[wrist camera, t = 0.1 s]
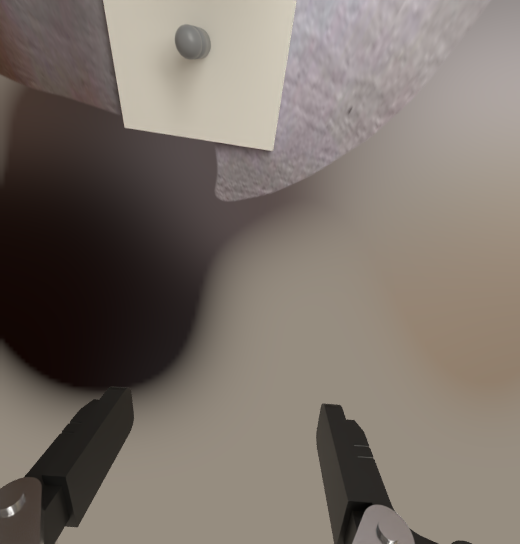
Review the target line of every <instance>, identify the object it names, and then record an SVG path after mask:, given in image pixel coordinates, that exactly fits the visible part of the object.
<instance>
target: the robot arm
mask: <svg viewBox="0 0 520 544" xmlns="http://www.w3.org/2000/svg"><path fill="white" fill-rule="evenodd" d="M133 421H134V412H133V403H132V394H131V389H130V388H121V387H110V388H108V389H107V391H106V392H105V393H104V394H103V396H102V397H101V398H100V400H96V399H94V400H92V401H91V402H89V403H88V404H87V405H85V406H84V407H83V408H81V409H80V410H79V412H78V413H77V414H76V415H75V416H74V417H73V419H72V420H71V421H70V424H68V425H67V426H66V427H65V428H64V430H63V431H62V433H61V434H59V436H58V437H57V438H56V439H55V440H54V442H53V443H52V444H51V445H50V447H49V448H48V449H47V450H46V452H45V453H44V454H43V455H42V456H41V457H40V459H39V460H38V461H37V462H36V464H35V465H34V466H33V467H32V468H31V470H30V471H29V472H28V473H27V474H26V475H25V477H24V478H20V479H17V480H15V481H12V482H10V483H8V484H7V485H5V486H3V487H2V488H1V489H0V544H58V543H57V539H58V537H59V535H60V534H61V532H62V530H63V529H64V527H65V526H67V527H78V526H79V524H80V522H81V520H82V518H83V517H84V515H85V513H86V511H87V509H88V507H89V505H90V504H91V502H92V500H93V498H94V496H95V495H96V493H97V491H98V489H99V488H100V486H101V484H102V482H103V480H104V478H105V477H106V475H107V473H108V471H109V469H110V468H111V465H112V464H113V462H114V460H115V458H116V457H117V455H118V453H119V451H120V449H121V448H122V446H123V444H124V442H125V440H126V438H127V437H128V435H129V433H130V431H131V428H132V425H133ZM316 439H317V450H318V456H319V461H320V467H321V472H322V478H323V483H324V489H325V494H326V500H327V506H328V511H329V517H330V522H331V528H332V533H333V539H334V544H438V543H436V542H433V541H431V540H429V539H427V538H424V537H422V536H420V535H418V534H417V533H415V532H414V531H412V530H411V529H410V528H409V527H408V525H407V524H406V522H405V521H404V520H403V519H402V518H401V517H400V516H399V515H398V514H397V513H396V512H395V511H394V509H393V507H392V505H391V502H390V500H389V497H388V495H387V492H386V489H385V486H384V484H383V481H382V479H381V476H380V473H379V471H378V468H377V466H376V463H375V460H374V459H373V455H372V452H371V449H370V448H369V444H368V442H367V439H366V436H365V434H364V431H363V430H362V429H361V428H360V427H359V425H358V424H357V423H356V422H355V421H354V420H346V418H345V415H344V412H343V409H342V407H341V406H340V405H334V404H322V405H321V410H320V415H319V421H318V427H317V435H316ZM452 544H472V543H469V542H466V541H455V542H453V543H452Z"/></svg>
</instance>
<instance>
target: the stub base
mask: <svg viewBox="0 0 520 544" xmlns="http://www.w3.org/2000/svg"><path fill="white" fill-rule="evenodd" d="M103 3H104V9H105V14H106V20H107V26H108V32H109V38H110V44H111V50H112V56H113V62H114V68H115V74H116V80H117V85H118V91H119V97H120V103H121V109H122V115H123V121H124V126H125V128H130V129H136V130H142V131H149V132H156V133H162V134H168V135H174V136H180V137H187V138H193V139H200V140H206V141H212V142H218V143H225V144H231V145H237V146H244V147H250V148H256V149H263V150H269V151H273V147H274V141H275V134H276V128H277V122H278V115H279V109H280V103H281V96H282V90H283V83H284V77H285V71H286V64H287V58H288V52H289V45H290V39H291V32H292V26H293V20H294V13H295V7H296V0H103Z"/></svg>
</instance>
